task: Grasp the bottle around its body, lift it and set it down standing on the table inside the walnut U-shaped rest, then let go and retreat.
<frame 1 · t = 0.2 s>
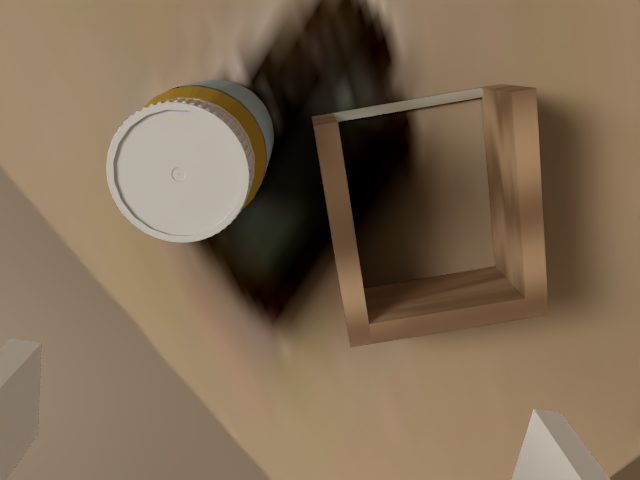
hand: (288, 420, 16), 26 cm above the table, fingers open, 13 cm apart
u rest: (418, 202, 41), on the table
bottle: (222, 133, 40), on the table
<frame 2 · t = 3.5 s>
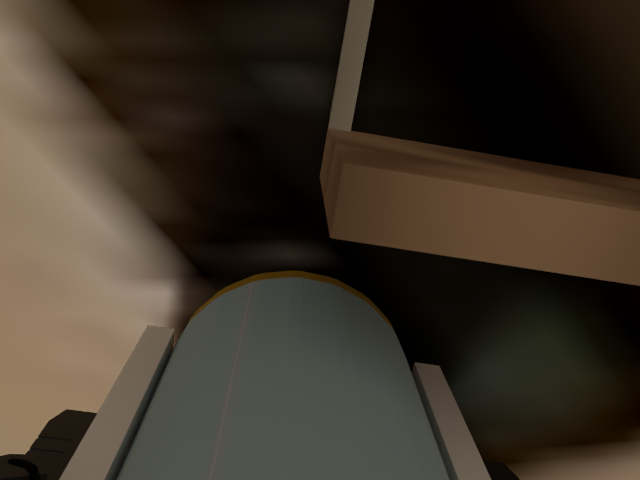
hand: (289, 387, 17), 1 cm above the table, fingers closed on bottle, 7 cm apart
bottle: (289, 366, 18), on the table, touching gripper
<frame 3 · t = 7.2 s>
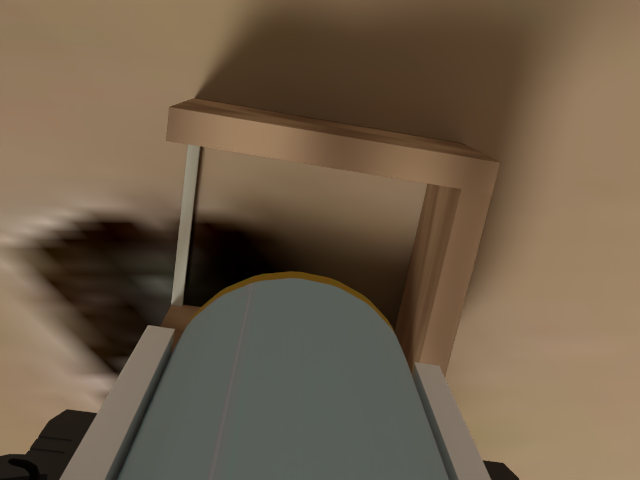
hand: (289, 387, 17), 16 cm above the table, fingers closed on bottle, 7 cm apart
u rest: (311, 238, 32), on the table
bottle: (289, 367, 18), point 14 cm above the table, touching gripper
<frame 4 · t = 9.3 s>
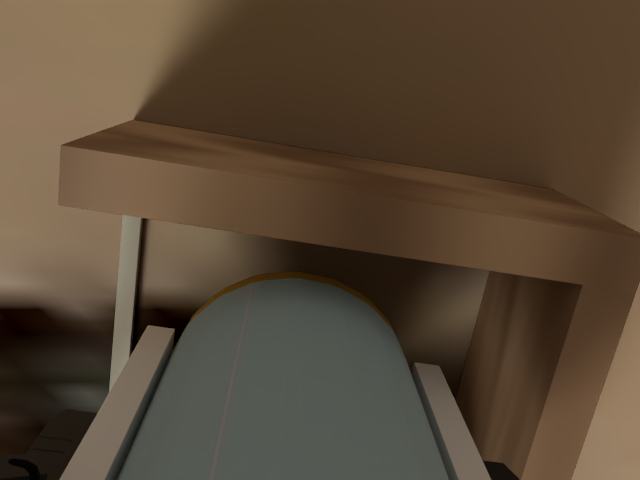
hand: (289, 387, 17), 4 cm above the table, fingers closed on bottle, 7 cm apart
u rest: (316, 329, 21), on the table
bottle: (289, 366, 18), point 3 cm above the table, touching gripper
when the fingers open (1 cm above the table, at t = 11.0 s): bottle stays where it is, on the table.
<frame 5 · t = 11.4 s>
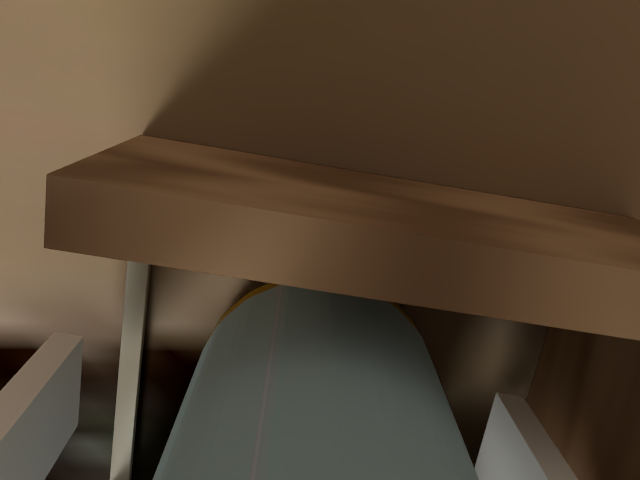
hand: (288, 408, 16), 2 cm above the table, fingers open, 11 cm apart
u rest: (350, 375, 19), on the table
bottle: (315, 368, 19), on the table
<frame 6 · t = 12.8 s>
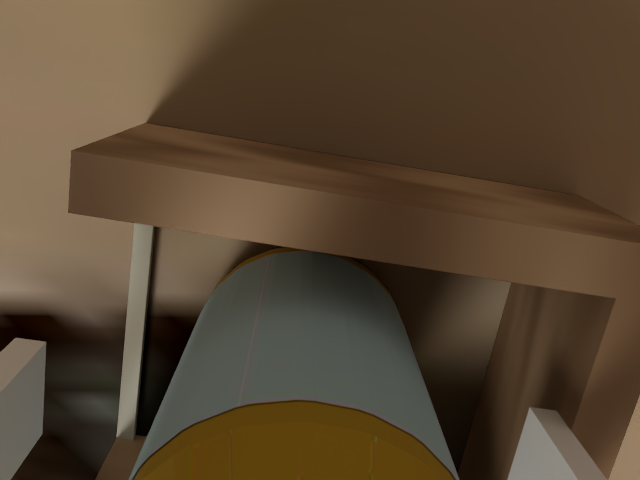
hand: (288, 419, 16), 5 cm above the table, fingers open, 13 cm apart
u rest: (332, 338, 21), on the table
bottle: (301, 332, 21), on the table
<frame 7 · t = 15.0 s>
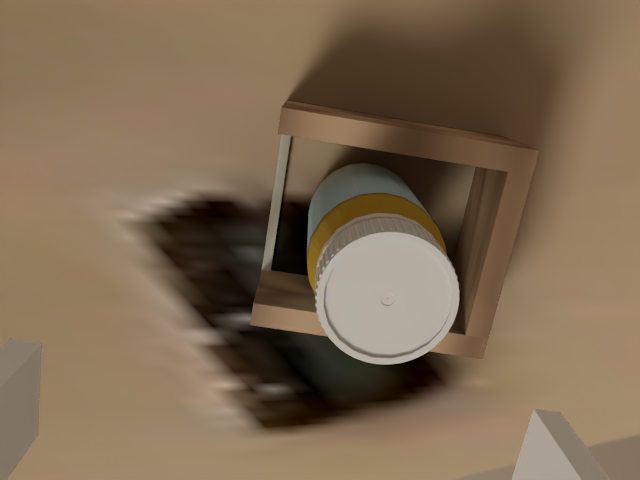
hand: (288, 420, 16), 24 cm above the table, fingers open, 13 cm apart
u rest: (377, 215, 39), on the table
bottle: (361, 212, 39), on the table
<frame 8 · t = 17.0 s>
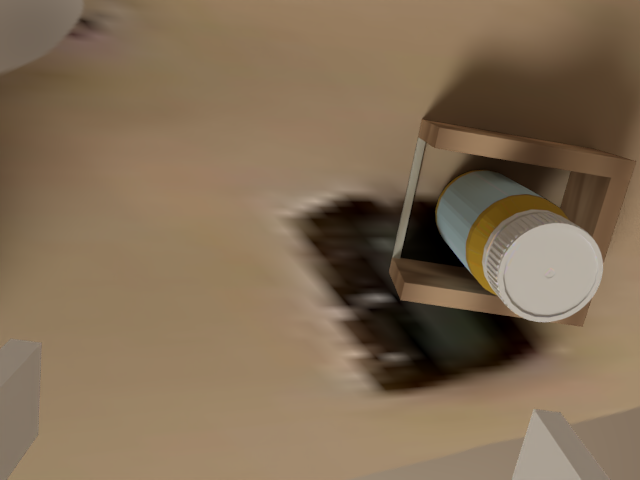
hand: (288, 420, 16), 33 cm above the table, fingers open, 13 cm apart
u rest: (489, 212, 48), on the table
bottle: (475, 209, 48), on the table
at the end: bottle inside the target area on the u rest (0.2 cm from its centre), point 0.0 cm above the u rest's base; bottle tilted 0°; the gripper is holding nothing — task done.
